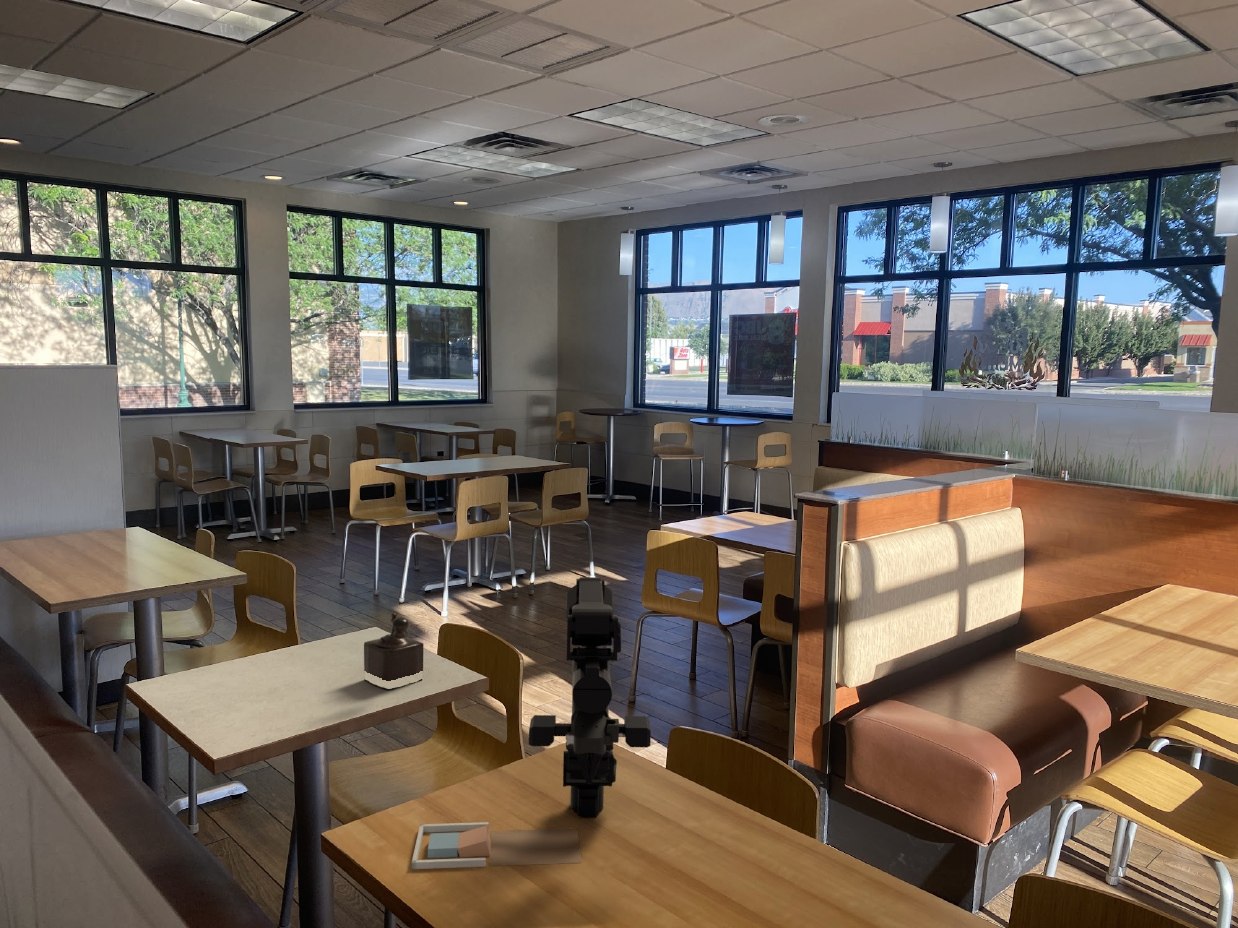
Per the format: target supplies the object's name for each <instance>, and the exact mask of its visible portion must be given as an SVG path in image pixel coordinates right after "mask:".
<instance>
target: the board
mask: <svg viewBox="0 0 1238 928" xmlns="http://www.w3.org/2000/svg"><path fill="white" fill-rule="evenodd" d="M490 838H491V849H490V856H489V859H488V860H489V861H488V862H489V863H488V867H505V866H506V867H507V866H508V867H509V866H510V867H511V866H533V865H534V866H536V865H555V864H556V865H563V864H582V859H581V857H582V855H581V849H580V848H581V847H580V838H579V830H578V828H576V827H575V828H573V827H572V828H549V829H547V828H546V829H544V828H542V829H521V830H520V829H519V830H517V829H516V830H491V834H490Z"/></svg>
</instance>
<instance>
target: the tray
mask: <svg viewBox="0 0 1238 928" xmlns="http://www.w3.org/2000/svg"><path fill="white" fill-rule="evenodd" d="M484 826H488V830H489V831H490V823H489V821H486V822H481V821H480V822H461V823H459V822H457V823H454V822H452V823H428V824H427V823H425V824H424V823H423V824H422V823H421V824H419V828H418V833H417V837H416V841H415V847H414V851H413V856H412V859H411V870H421V869H422V870H424V869H449V868H452V869H454V868H456V869H457V868H480V867H482V868H483V867H486V865H487V857H473V858H472V857H469V858H467V857H463V858H444V859H442V858H440V859H439V858H437V859H436V858H435V859H419V856H420V850H421V846H422V841H423V836H424V833H452V832H465V831H469V830H473V829H476V828H480V827H484Z"/></svg>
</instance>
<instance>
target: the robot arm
mask: <svg viewBox="0 0 1238 928" xmlns="http://www.w3.org/2000/svg"><path fill="white" fill-rule="evenodd" d="M575 580H576V583H575V585H573V586H572V587H571V588H569V589H568V590H566V604H565V606H566V608H565V616H566V617H565V619H566V621H567V622H566V623H567V624H566V626H567V628H566V661H572V683H571V684H572V685H571V686H572V692H571V700H572V701H571V716H570V717H571V718H570V723H568V722H567V723H564V722H563V723H562V722H560V723H559V722H557V717H556V715H554V714H553V715H551V714H550V715H545V714H544V715H541V714H534V715H533V716H532V718H530V723H529V728H528V745H529V746H531V747H550V746H551V745H552V744H553V743H554V742H555V737H565V741H566V743H565V749H566V750H564V751H563V761H562V763H563V764H562V766H563V769H562V788H563V787H564V788H565V787H570V798H569V799H570V803H569V805H570V806H569V807H570V810H571V812H573V813H575V814H576V815H577V817H579V818H580V819H595V818H597V816H599V813H601V812H602V811H603V810H604V794H605V793H604V790H605V787H611V788H612V787H613V784H614V783H616V781H617V780H616V779H617V778H616V777H617V765H618V764H617V763H618V761H617V759H616V758H615V757H614V756H615V755H614V752H613V750H614V744H617V743H619V740H620V738H624V740H625V743H626V745H627V746H628V747H629V748H649V747H651V743H652V742H651V741H652V740H651V739H652V733H651V725H650V720H649V719H648V718H647V716H641V715H640V716H638V715H637V716H635V715H634V716H633V715H631V716H630V715H624V720H623V722H624V723H620V719H619V718H611V717H610V716H609V713H610V712H609V711H610V710H609V709H610V704H611V701H612V697H613V690H612V680H611V674H610V667H611V666H610V665H611V664H610V663H611V661H618V653H622V633H621V632H622V631H621V627H622V625H621V623H620V621H619V617H617V615H613V612H614V598H613V597H614V596H613V595H614V594H613V591H612V590H611V589H610V588H608V587H607V586H606V585H605V583H606V582H605V578H602V577H596V576H594V577H591V576H589V577H588V576H587V577H584V576H582V577H579V578H576V579H575ZM571 645H572V646H573V648H572V651H571ZM574 646H575V647H574ZM611 646H612V648H610V647H611ZM612 650H613V651H612ZM556 722H557V723H556Z"/></svg>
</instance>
